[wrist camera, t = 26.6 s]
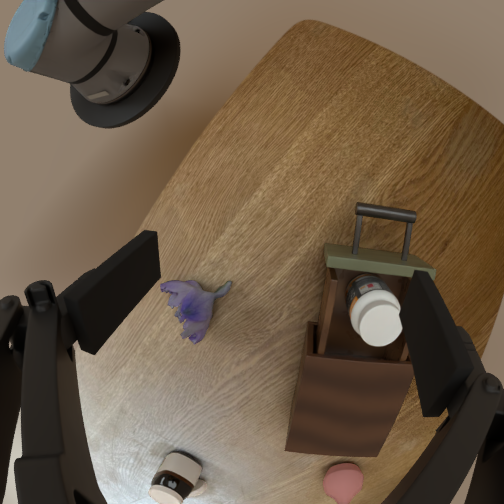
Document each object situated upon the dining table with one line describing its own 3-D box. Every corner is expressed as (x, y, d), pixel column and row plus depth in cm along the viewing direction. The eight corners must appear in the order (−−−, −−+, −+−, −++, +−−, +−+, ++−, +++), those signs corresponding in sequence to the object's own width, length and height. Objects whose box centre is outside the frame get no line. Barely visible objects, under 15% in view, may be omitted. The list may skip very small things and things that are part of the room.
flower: (209, 257, 35) (152, 320, 33) (255, 301, 39) (203, 358, 37) (189, 244, 43) (143, 295, 42) (228, 282, 47) (185, 329, 45)
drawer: (329, 197, 37) (334, 199, 29) (421, 211, 35) (445, 217, 27) (307, 351, 41) (305, 382, 34) (389, 358, 39) (401, 389, 32)
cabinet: (307, 321, 41) (306, 355, 32) (399, 330, 39) (418, 364, 30) (290, 410, 45) (284, 451, 36) (370, 416, 43) (376, 457, 33)
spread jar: (178, 443, 52) (156, 482, 40) (224, 470, 51) (209, 511, 40) (157, 462, 55) (136, 496, 44) (198, 487, 54) (182, 522, 43)
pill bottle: (338, 281, 38) (347, 310, 28) (380, 266, 36) (402, 290, 27) (350, 320, 38) (360, 358, 29) (391, 305, 37) (412, 340, 27)
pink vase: (343, 451, 45) (344, 501, 34) (370, 464, 45) (375, 510, 33) (315, 470, 47) (311, 517, 36) (342, 482, 47) (342, 526, 35)
